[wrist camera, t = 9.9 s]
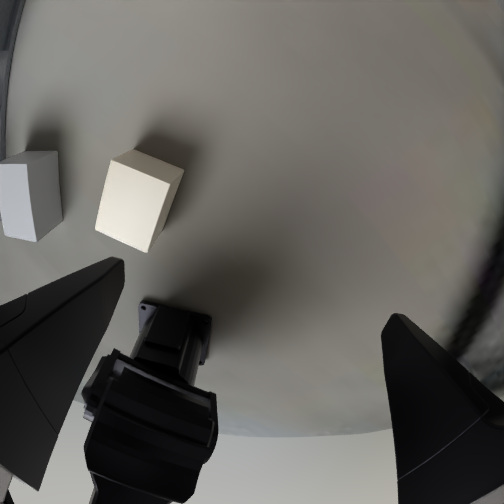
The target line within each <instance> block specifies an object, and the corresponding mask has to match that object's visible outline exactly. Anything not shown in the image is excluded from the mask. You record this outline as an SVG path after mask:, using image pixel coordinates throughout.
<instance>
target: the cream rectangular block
mask: <svg viewBox="0 0 504 504" xmlns="http://www.w3.org/2000/svg"><path fill="white" fill-rule="evenodd" d="M184 171H185V170H183V169H181V168H178V167H176V166H174V165H171V164H169V163H166V162H164V161H162V160H159V159H157V158H154V157H152V156H149V155H147V154H144V153H142V152H139V151H137V150H134V149H133V150H131V151H129V152H126V153H124V154H122V155H120V156H118V157H116V158H114V159H112V160H111V163H110V166H109V170H108V174H107V178H106V182H105V186H104V190H103V194H102V198H101V203H100V207H99V212H98V217H97V222H96V227H95V230H97V231H99V232H101V233H103V234H106V235H108V236H110V237H112V238H114V239H116V240H119V241H121V242H123V243H125V244H127V245H130V246H132V247H134V248H136V249H138V250H141V251H143V252H145V253H147V252H148V251H149V249H150V248H151V247H152V245H153V244H154V242H155V241H156V239H157V238H158V236H159V235H160V233H161V232H162V230H163V227H164V224H165V221H166V219H167V216H168V213H169V210H170V207H171V205H172V202H173V199H174V197H175V194H176V191H177V189H178V186H179V184H180V181H181V178H182V176H183V173H184Z"/></svg>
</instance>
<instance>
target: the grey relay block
mask: <svg viewBox="0 0 504 504" xmlns="http://www.w3.org/2000/svg"><path fill="white" fill-rule="evenodd" d="M0 213H1V218H2V224H3V229H4V233H5V236H9V237H14V238H18V239H23V240H28V241H33V242H38V241H39V240H40V239H41V238H43V237H44V236H45V235H46V234H47V233H49V232H50V231H51V230H52V229H54V228H55V227H56V226H57V225H59V224H60V223H61V222H62V221H63V217H62V208H61V197H60V185H59V169H58V151H24V152H22V153H19V154H17V155H14V156H12V157H9V158H7V159H5V160H2V161H0Z"/></svg>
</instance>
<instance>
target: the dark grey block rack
mask: <svg viewBox="0 0 504 504" xmlns="http://www.w3.org/2000/svg"><path fill="white" fill-rule="evenodd" d="M24 3H25V0H0V161H2V160H5V117H6V101H7V90H8V81H9V73H10V66H11V60H12V54H13V48H14V43H15V38H16V34H17V29H18V25H19V21H20V17H21V13H22V10H23V6H24ZM0 221H2V218H1V213H0Z"/></svg>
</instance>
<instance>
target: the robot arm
mask: <svg viewBox="0 0 504 504" xmlns="http://www.w3.org/2000/svg"><path fill="white" fill-rule="evenodd" d="M124 283H125V272H124V261H123V259H121V258H117V257H109V258H107V259H104V260H102V261H100V262H97V263H95V264H92V265H90V266H88V267H85V268H83V269H81V270H79V271H76V272H74V273H72V274H69V275H67V276H65V277H63V278H60V279H58V280H56V281H54V282H51V283H49V284H47V285H45V286H42V287H40V288H38V289H36V290H34V291H32V292H29V293H28V295H27V294H25V295H23V296H21V297H19V298H17V299H14V300H12V301H10V302H8V303H6V304H3V305H1V306H0V504H14V502H13V500H12V498H11V495H10V493H9V490H8V488H9V485H10V482H11V480H12V477H14V478H16V479H18V480H19V481H21V482H22V483H24V484H26V485H27V486H29V487H31V488H33V489H35V490H36V491H39V489H40V486H41V483H42V480H43V477H44V474H45V471H46V468H47V465H48V462H49V459H50V456H51V453H52V451H53V449H54V446H55V443H56V441H57V438H58V434H59V432H60V430H61V427H62V425H63V422H64V420H65V417H66V415H67V413H68V410H69V408H70V406H71V403H72V401H73V399H74V396H75V394H76V392H77V390H78V387H79V385H80V383H81V381H82V379H83V377H84V374H85V372H86V370H87V368H88V366H89V364H90V362H91V360H92V358H93V356H94V353H95V351H96V349H97V347H98V345H99V343H100V341H101V339H102V337H103V335H104V334H105V332H106V330H107V327H108V325H109V323H110V321H111V318H112V315H113V313H114V310H115V308H116V305H117V302H118V300H119V297H120V295H121V292H122V290H123V287H124ZM144 306H145V307H144ZM138 309H139V333H140V334H139V337H138V339H137V341H136V343H135V346H134V348H133V350H132V353H131V355H130V357H128V356H126V355H124V354H122V353H120V351H118V350H117V349H115V348H114V349H113V351H112V353H111V355H109V354H108V355H107V356H104V357H102V358H101V360H100V362H99V364H98V366H97V368H96V369H95V371H94V373H93V374H92V376H91V377H90V379H89V380H88V382H87V383H86V385H85V386H84V388H83V390H82V393H81V395H82V397H83V399H84V402H85V405H84V408H85V412H84V416H83V418H85V419H86V420H88V421H91V422H92V424H91V427H90V430H89V432H88V435H87V438H86V441H85V444H84V452H85V459H86V464H87V468H88V471H90V474H91V478H92V481H93V484H94V490H93V493H92V496H91V499H90V502H89V504H170V503H171V502H173V501H174V502H177V503H181V504H183V503H185V502H186V501H187V500H188V499H189V498H190V497H191V496H192V495H193V494H194V491H195V488H196V484H197V480H198V476H199V473H200V470H201V468H202V465H203V464H205V463H206V462H207V461H208V460H209V458H210V457H211V455H212V453H213V451H214V449H215V446H216V442H217V437H218V416H217V401H216V394H215V393H212V392H207V391H204V390H202V389H199V388H197V387H194V383H195V379H196V374H197V369H198V365H204V363H205V358H206V352H207V346H208V340H209V335H210V329H211V323H212V318H211V317H210V316H208V315H204V314H199V313H195V312H190V311H186V310H181V309H177V308H173V307H168V306H164V305H160V304H156V303H152V302H148V301H141V302H140V304H139V306H138ZM204 320H206V321H208V322H206V321H204ZM381 341H382V352H383V364H384V374H385V381H386V387H387V393H388V399H389V406H390V413H391V421H392V428H393V437H394V446H395V454H396V455H395V456H396V468H397V480H398V481H397V484H398V504H504V402H503V401H502V400H501V399H500V398H499V397H497V396H496V395H495V394H494V393H493V392H491V391H490V390H489V389H488V388H487V387H486V386H484V385H483V384H482V383H481V382H480V381H479V380H478V379H477V378H476V377H474V376H473V375H472V374H471V373H470V372H469V371H468V370H467V369H466V368H465V367H463V366H462V365H461V364H460V363H459V362H458V361H457V360H456V359H455V358H454V357H452V356H451V355H450V354H449V353H448V352H447V351H446V350H445V349H443V348H442V347H441V346H440V345H439V344H438V343H437V342H435V341H434V340H433V339H432V338H431V337H430V336H429V335H427V334H426V333H425V332H424V331H423V330H422V329H420V328H419V327H418V326H417V325H416V324H415V323H413V322H412V321H411V320H410V319H409V318H408V317H406V316H405V315H403V314H398V313H394V314H392V315H391V317H390V318H389V320H388V322H387V323H386V325H385V327H384V328H383V330H382V333H381Z"/></svg>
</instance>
